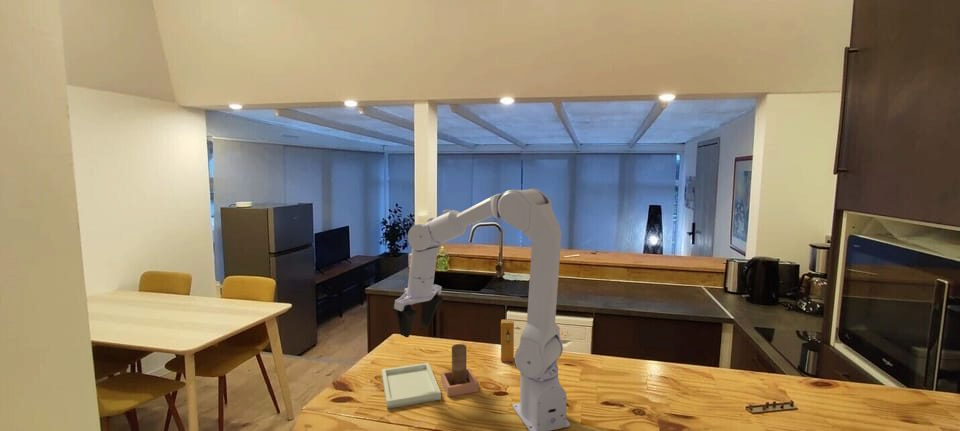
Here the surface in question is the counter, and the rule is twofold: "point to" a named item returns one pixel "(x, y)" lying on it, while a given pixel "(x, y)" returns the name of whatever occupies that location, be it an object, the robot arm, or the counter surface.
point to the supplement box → (507, 341)
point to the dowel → (459, 364)
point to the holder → (459, 388)
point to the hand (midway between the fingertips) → (415, 329)
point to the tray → (409, 385)
